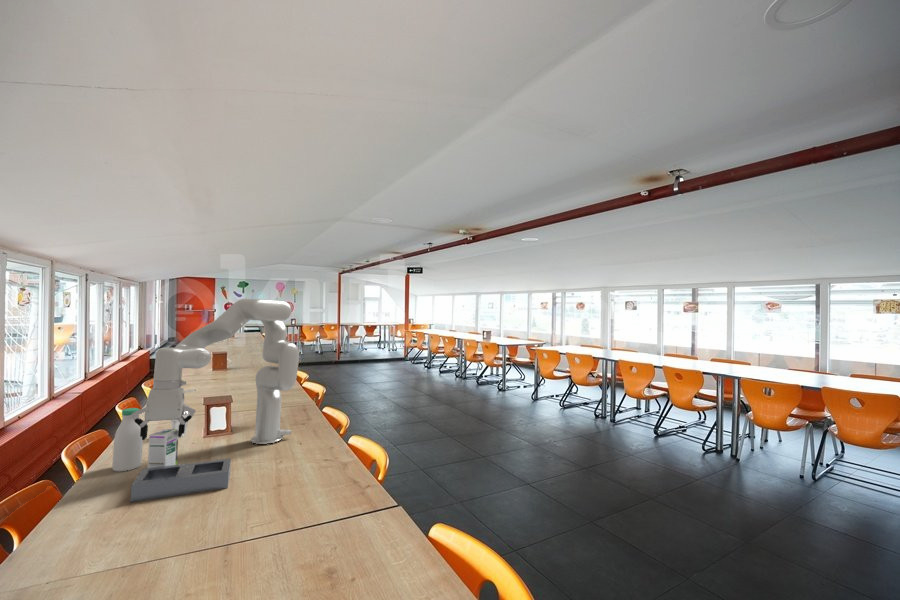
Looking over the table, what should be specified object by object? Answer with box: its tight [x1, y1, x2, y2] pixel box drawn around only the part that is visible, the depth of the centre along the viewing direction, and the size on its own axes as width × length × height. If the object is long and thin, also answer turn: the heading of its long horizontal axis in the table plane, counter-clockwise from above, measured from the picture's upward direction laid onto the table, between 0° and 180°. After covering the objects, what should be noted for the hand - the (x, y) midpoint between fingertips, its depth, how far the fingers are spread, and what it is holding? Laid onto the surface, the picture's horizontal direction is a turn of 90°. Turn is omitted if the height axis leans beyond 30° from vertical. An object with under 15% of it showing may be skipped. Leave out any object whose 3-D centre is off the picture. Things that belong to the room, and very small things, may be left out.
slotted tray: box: [130, 458, 232, 504], centre depth 119 cm, size 24×12×5 cm, turn 117°
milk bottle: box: [111, 407, 144, 472], centre depth 132 cm, size 8×8×20 cm
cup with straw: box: [170, 388, 196, 438], centre depth 166 cm, size 8×9×20 cm
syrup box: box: [147, 428, 179, 468], centre depth 127 cm, size 6×6×14 cm
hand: (162, 437), depth 127 cm, fingers open, 9 cm apart
